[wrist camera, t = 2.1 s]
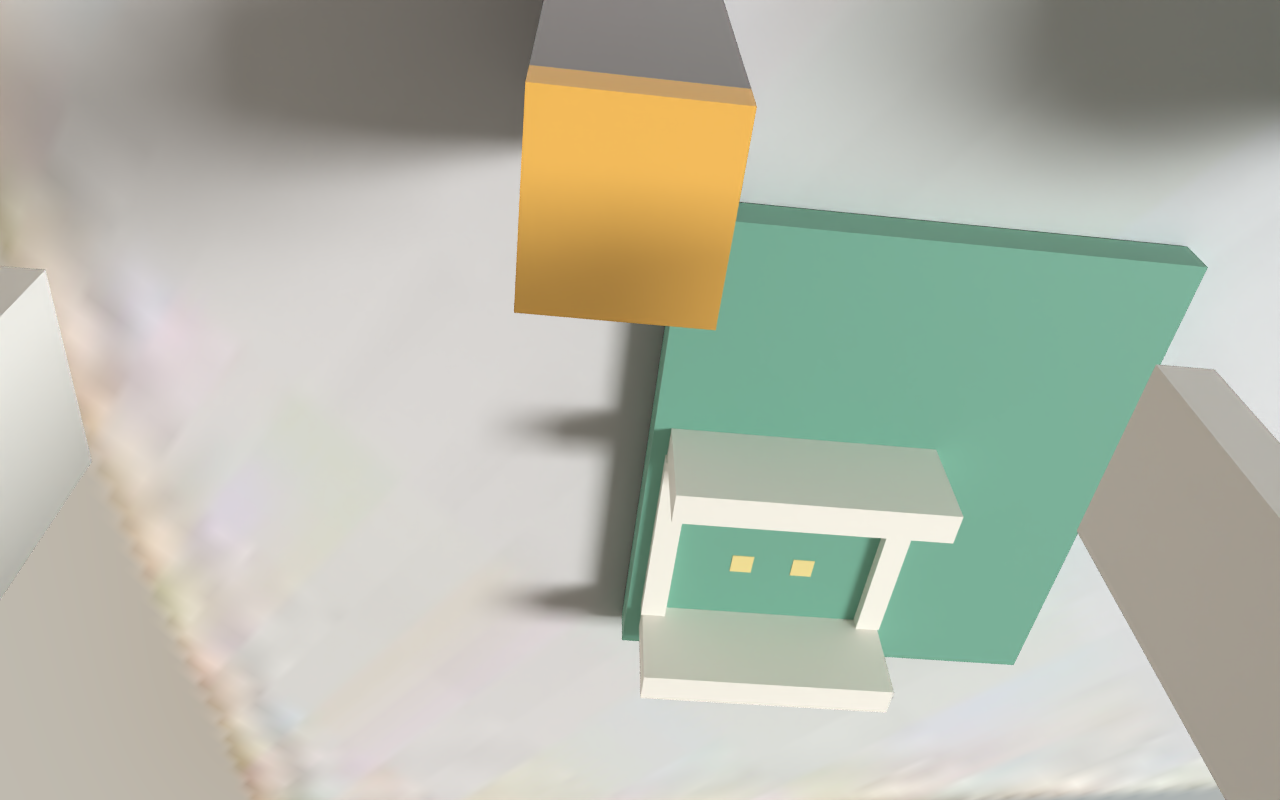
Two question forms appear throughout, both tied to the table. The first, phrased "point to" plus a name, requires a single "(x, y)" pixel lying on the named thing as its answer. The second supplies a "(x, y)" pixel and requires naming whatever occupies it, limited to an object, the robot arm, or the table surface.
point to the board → (882, 448)
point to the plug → (631, 161)
